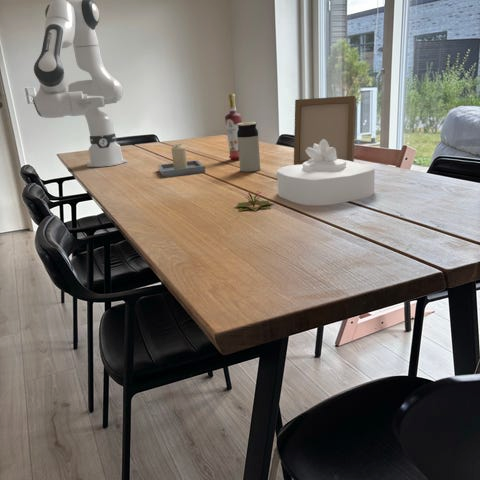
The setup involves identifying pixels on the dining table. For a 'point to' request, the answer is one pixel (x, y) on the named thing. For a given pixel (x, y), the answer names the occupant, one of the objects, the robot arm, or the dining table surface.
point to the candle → (179, 156)
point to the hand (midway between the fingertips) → (116, 100)
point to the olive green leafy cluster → (253, 203)
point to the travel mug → (248, 147)
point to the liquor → (233, 128)
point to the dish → (192, 168)
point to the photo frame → (325, 126)
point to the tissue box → (325, 178)
